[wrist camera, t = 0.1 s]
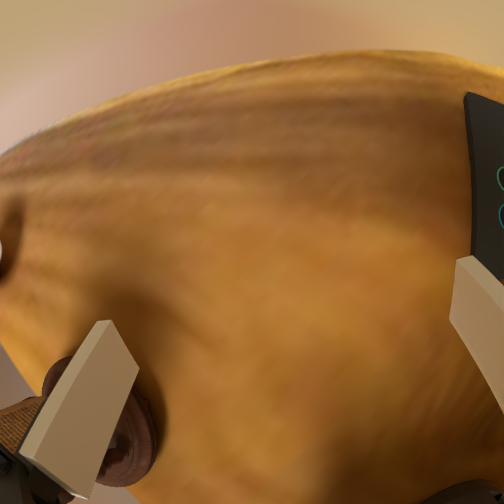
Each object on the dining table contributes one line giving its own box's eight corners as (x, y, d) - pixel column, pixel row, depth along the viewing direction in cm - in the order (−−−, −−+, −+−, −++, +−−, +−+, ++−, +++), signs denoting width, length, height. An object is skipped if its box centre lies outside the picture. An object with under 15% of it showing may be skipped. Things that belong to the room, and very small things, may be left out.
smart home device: (474, 272, 22) (464, 89, 25) (465, 274, 24) (459, 97, 26) (535, 285, 20) (520, 111, 23) (526, 286, 22) (514, 118, 25)
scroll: (177, 388, 26) (1, 471, 7) (152, 498, 25) (38, 597, 5) (63, 332, 30) (-95, 332, 10) (52, 437, 28) (-71, 477, 9)
